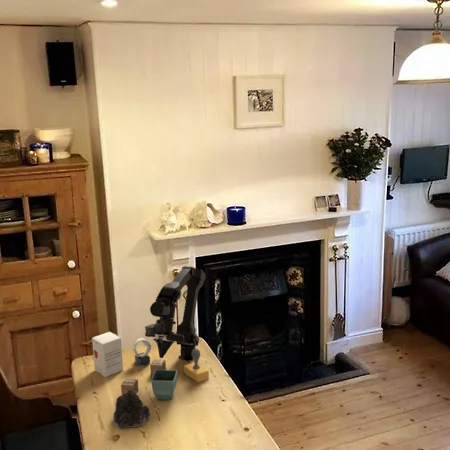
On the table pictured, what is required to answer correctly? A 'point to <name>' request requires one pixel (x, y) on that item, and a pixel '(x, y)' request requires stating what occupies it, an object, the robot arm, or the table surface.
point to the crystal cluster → (130, 411)
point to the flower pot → (164, 383)
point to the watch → (142, 357)
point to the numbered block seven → (157, 365)
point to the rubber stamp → (196, 368)
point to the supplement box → (107, 354)
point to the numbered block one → (129, 385)
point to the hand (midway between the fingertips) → (161, 357)
